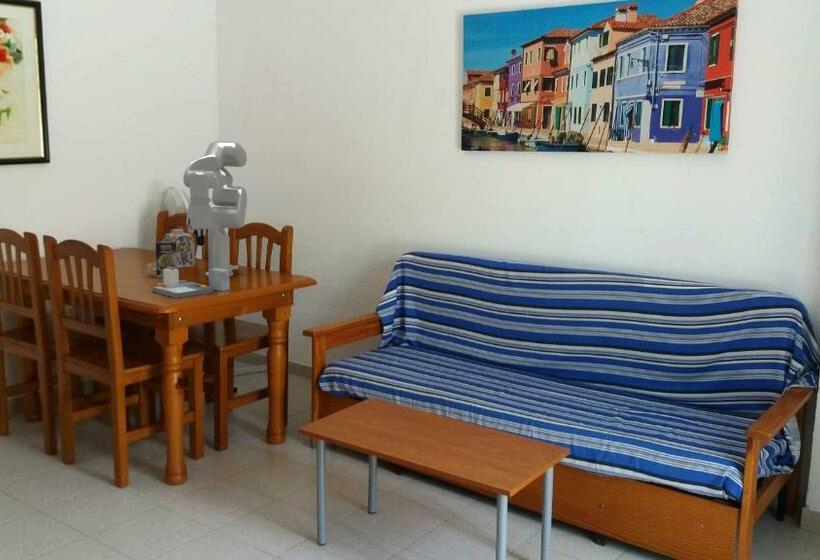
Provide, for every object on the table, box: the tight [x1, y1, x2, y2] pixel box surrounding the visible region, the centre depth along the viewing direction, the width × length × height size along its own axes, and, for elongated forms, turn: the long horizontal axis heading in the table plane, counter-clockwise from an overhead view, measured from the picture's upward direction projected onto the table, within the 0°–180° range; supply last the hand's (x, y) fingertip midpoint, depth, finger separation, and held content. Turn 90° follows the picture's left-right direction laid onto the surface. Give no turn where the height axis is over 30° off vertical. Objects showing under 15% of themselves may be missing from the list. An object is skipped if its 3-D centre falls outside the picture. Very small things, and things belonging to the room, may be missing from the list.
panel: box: [151, 279, 214, 299], centre depth 335 cm, size 18×17×3 cm
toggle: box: [163, 267, 180, 286], centre depth 335 cm, size 4×5×8 cm
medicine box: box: [208, 268, 230, 292], centre depth 342 cm, size 8×4×9 cm, turn 59°
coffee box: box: [155, 240, 178, 279], centre depth 366 cm, size 9×6×16 cm
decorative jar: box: [161, 228, 196, 269], centre depth 392 cm, size 12×12×18 cm
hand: (200, 245), depth 340 cm, fingers closed
